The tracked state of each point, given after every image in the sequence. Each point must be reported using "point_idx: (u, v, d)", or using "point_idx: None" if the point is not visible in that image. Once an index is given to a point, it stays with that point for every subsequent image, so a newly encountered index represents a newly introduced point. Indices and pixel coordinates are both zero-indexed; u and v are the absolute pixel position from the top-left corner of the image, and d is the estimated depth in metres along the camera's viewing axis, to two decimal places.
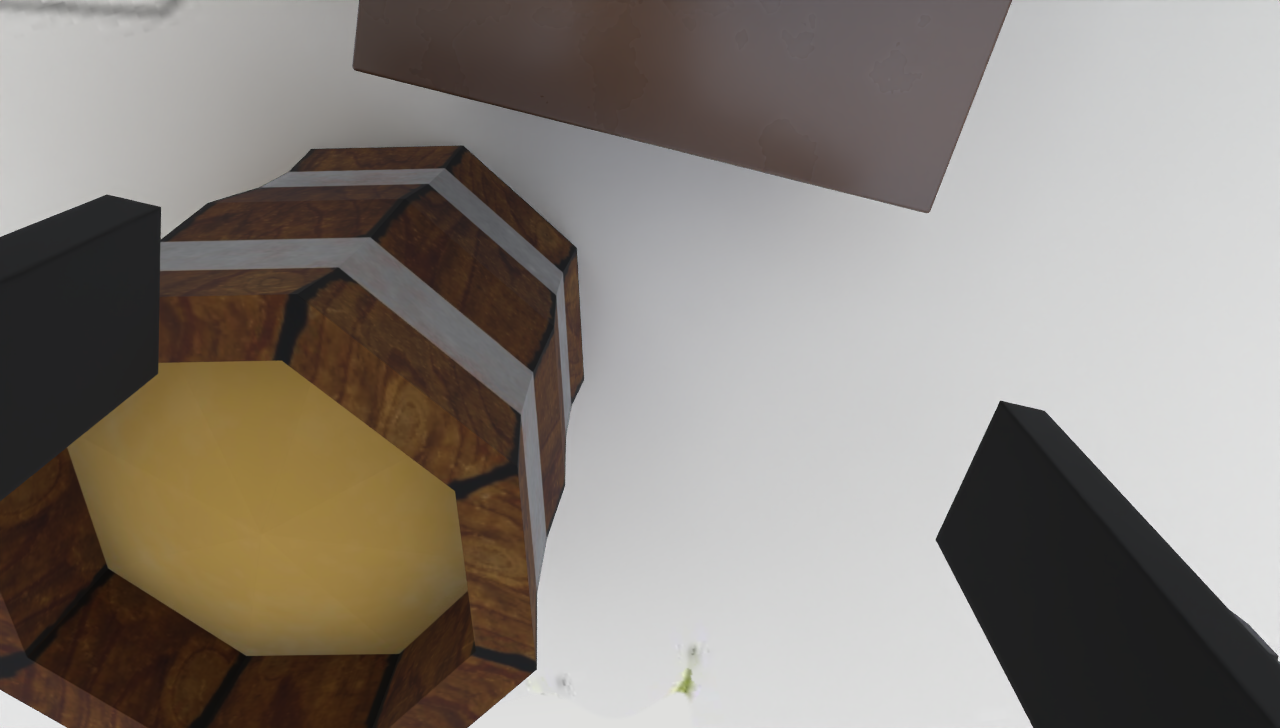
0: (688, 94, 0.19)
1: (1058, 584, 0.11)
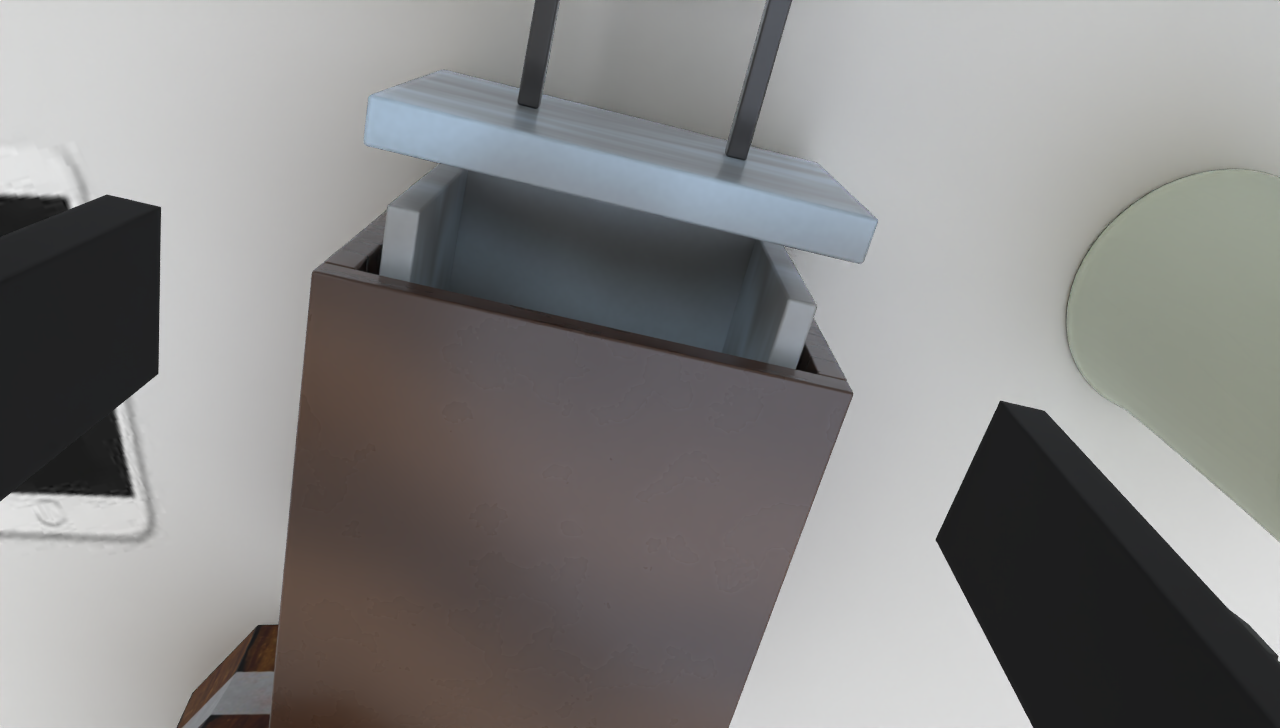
0: None
1: (1058, 584, 0.11)
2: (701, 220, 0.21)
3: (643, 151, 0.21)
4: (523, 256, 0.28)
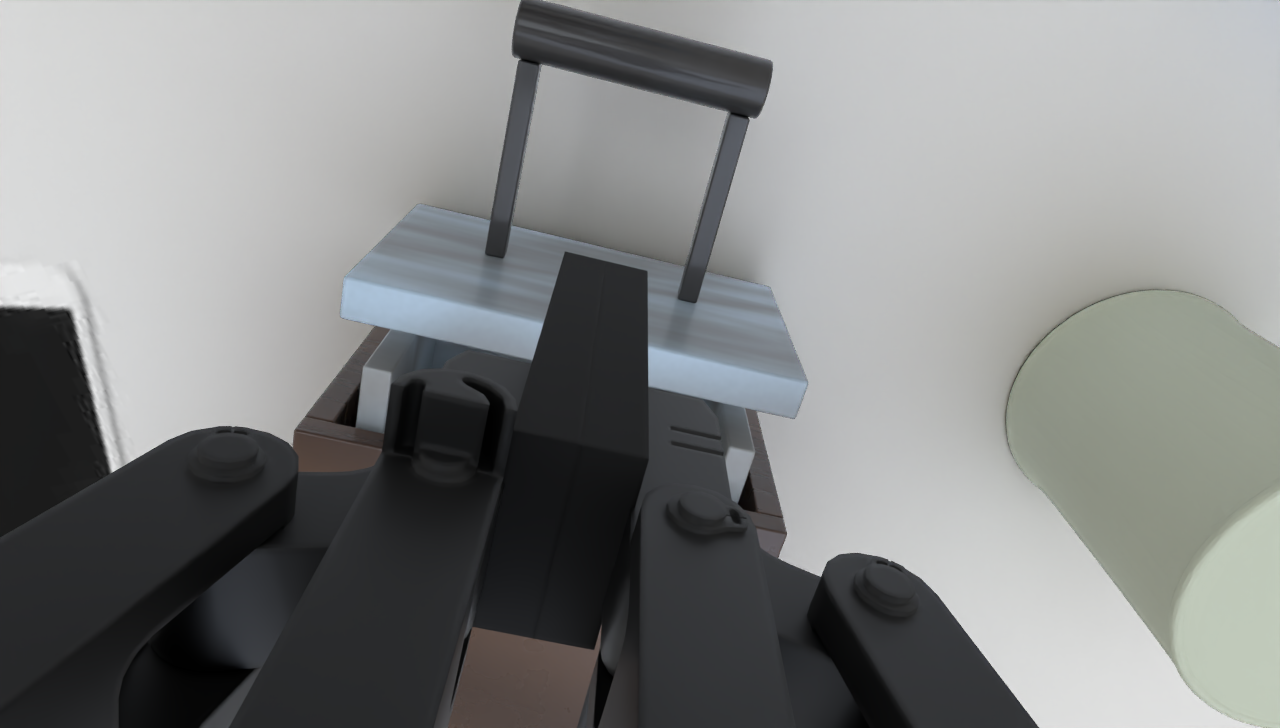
0: None
1: None
2: None
3: None
4: None
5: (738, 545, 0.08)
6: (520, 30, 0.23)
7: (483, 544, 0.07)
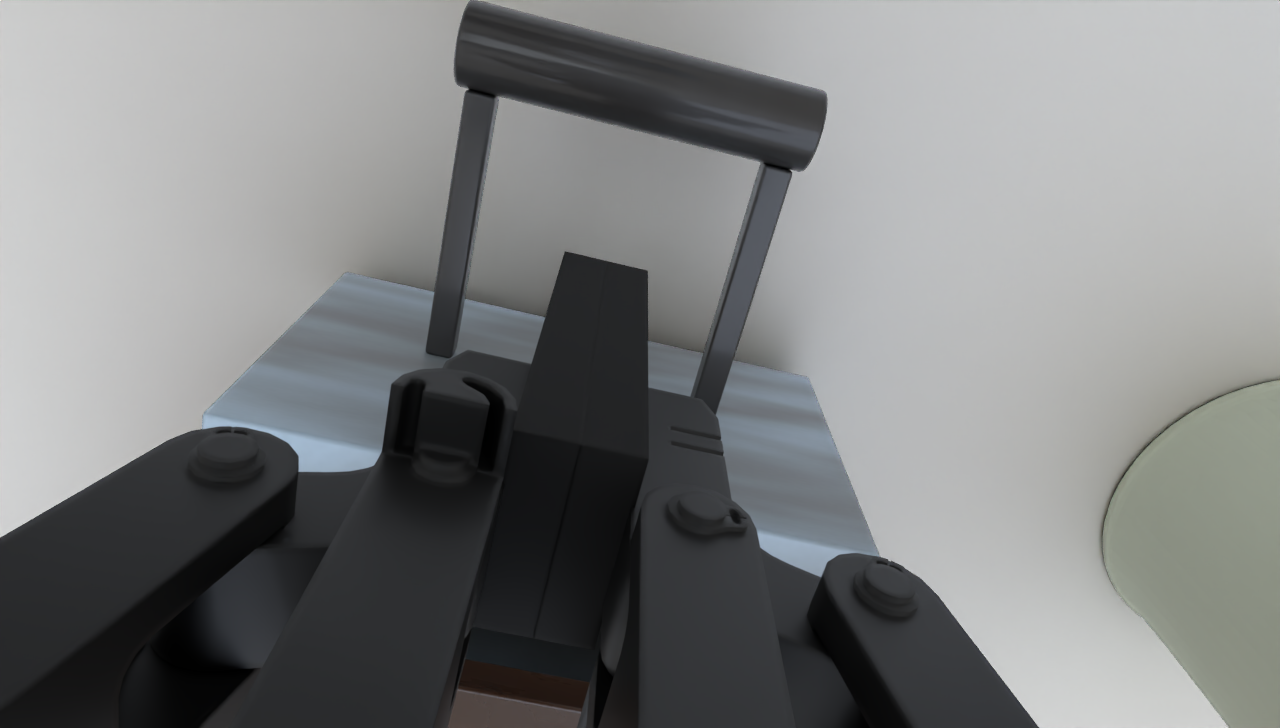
0: None
1: None
2: None
3: None
4: None
5: (738, 545, 0.08)
6: (464, 49, 0.16)
7: (483, 544, 0.07)
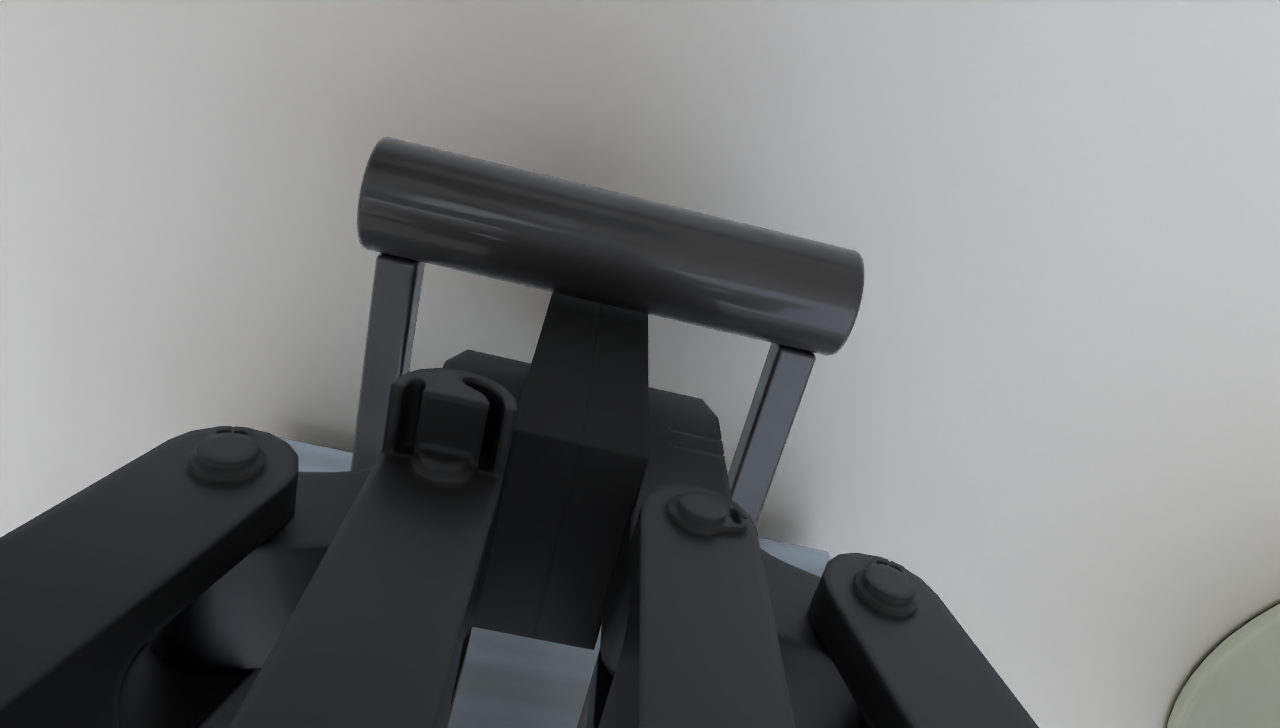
0: None
1: None
2: None
3: None
4: None
5: (738, 545, 0.08)
6: (370, 211, 0.11)
7: (483, 544, 0.07)
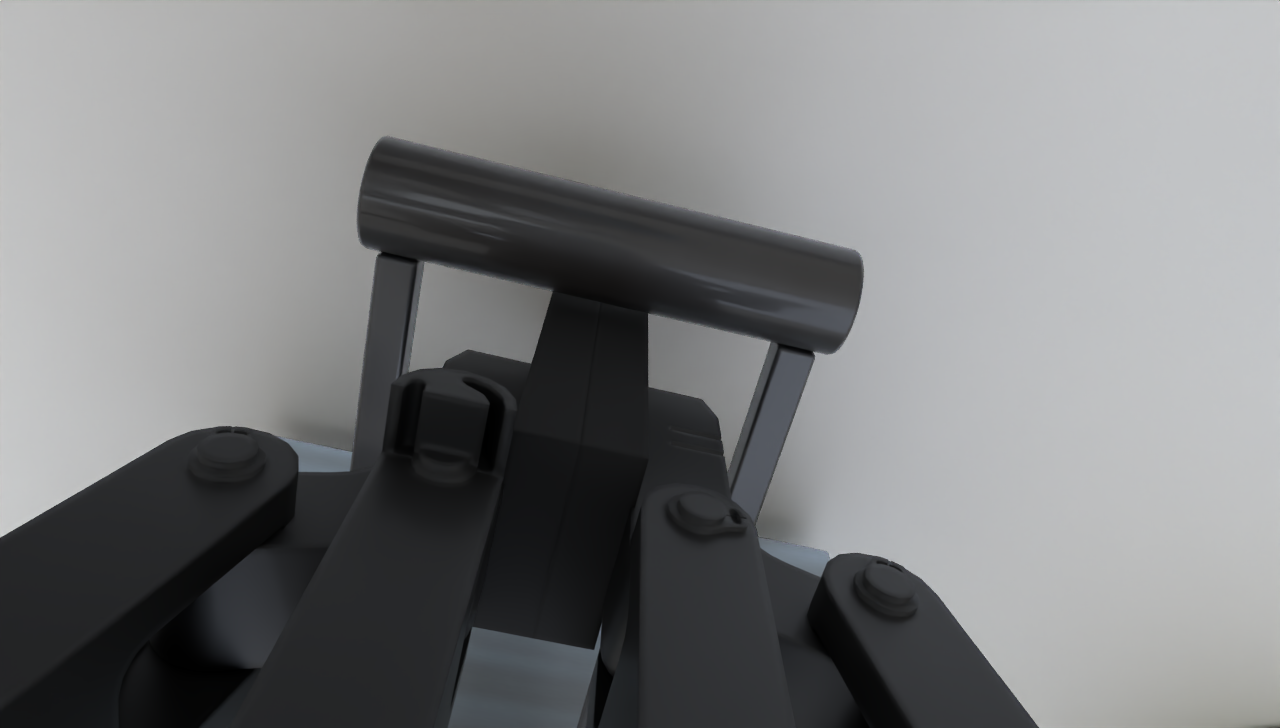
0: None
1: None
2: None
3: None
4: None
5: (738, 544, 0.08)
6: (369, 209, 0.11)
7: (483, 544, 0.07)
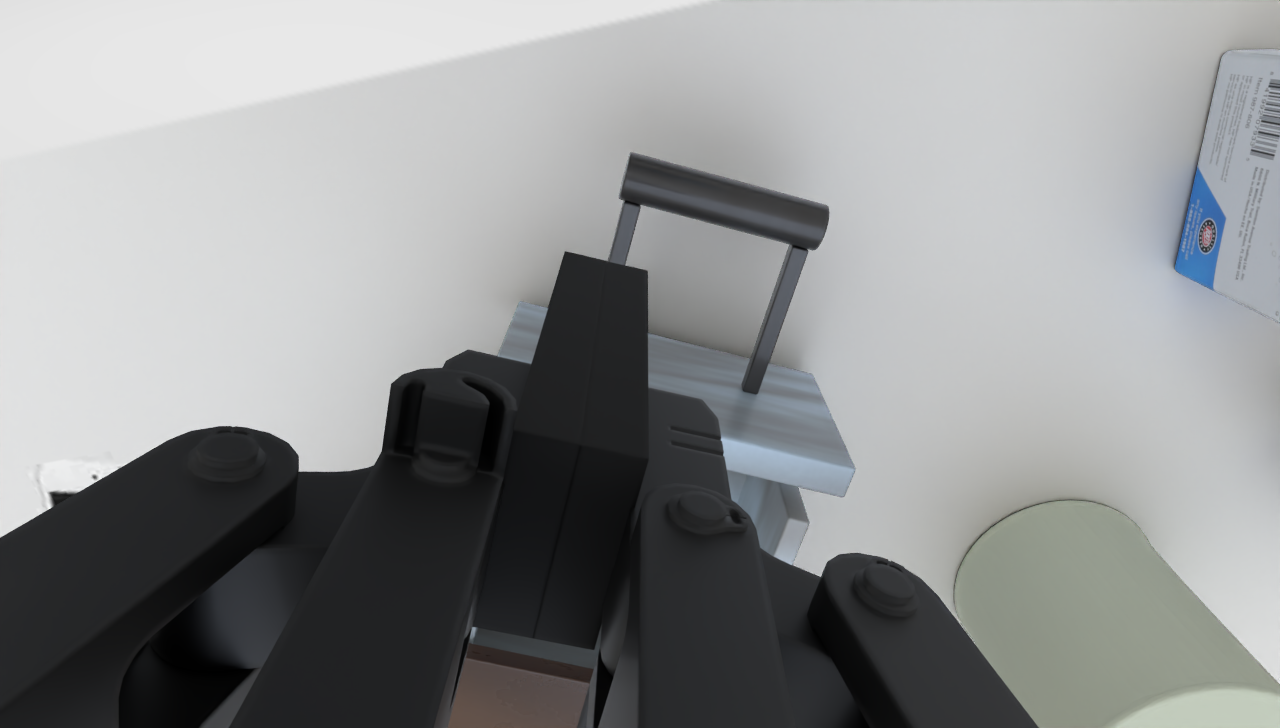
0: None
1: None
2: (726, 466, 0.28)
3: None
4: None
5: (738, 545, 0.08)
6: (629, 182, 0.28)
7: (483, 544, 0.07)
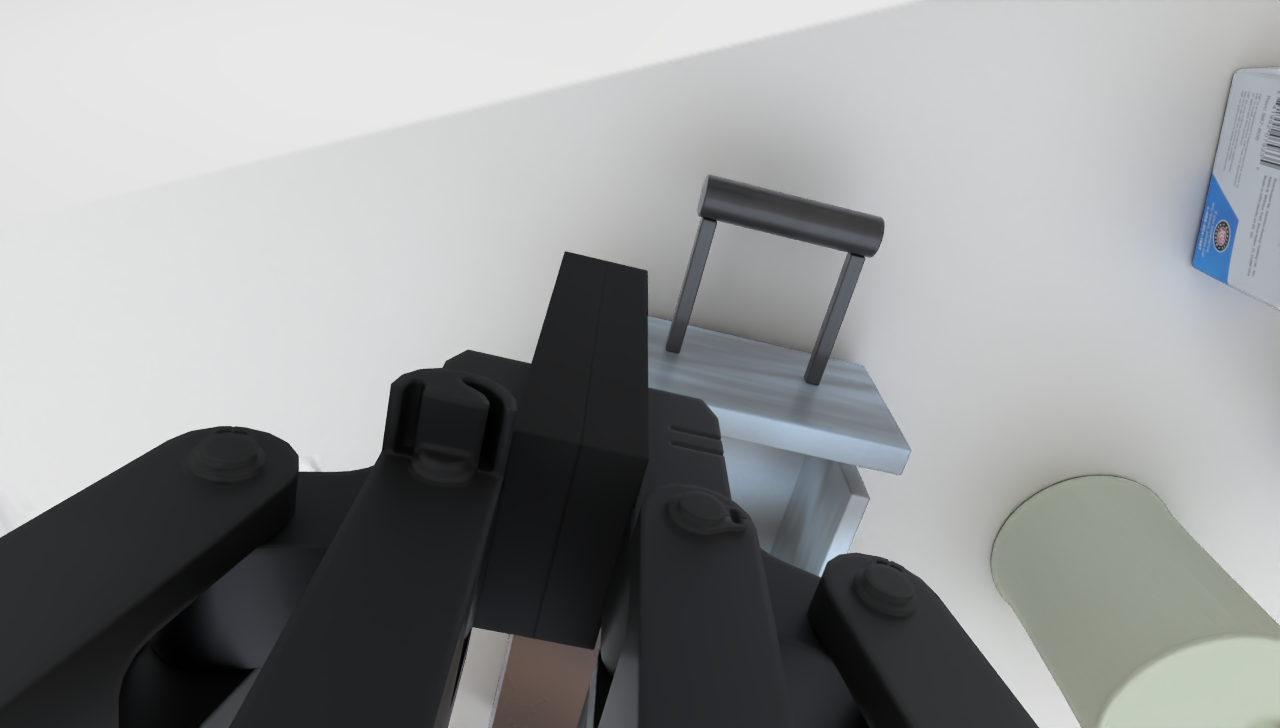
0: None
1: None
2: (797, 450, 0.32)
3: (757, 399, 0.33)
4: None
5: (738, 545, 0.08)
6: (708, 201, 0.32)
7: (483, 544, 0.07)
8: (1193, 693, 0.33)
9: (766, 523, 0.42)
